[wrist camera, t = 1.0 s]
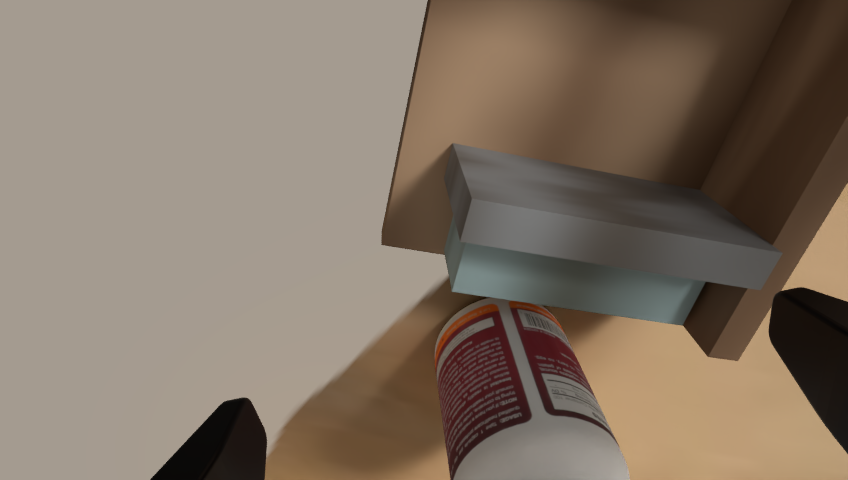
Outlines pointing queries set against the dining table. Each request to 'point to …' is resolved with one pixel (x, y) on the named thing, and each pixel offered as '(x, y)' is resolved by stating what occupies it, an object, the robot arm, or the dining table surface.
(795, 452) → the dining table surface
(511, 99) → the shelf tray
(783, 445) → the dining table surface
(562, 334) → the pill bottle
